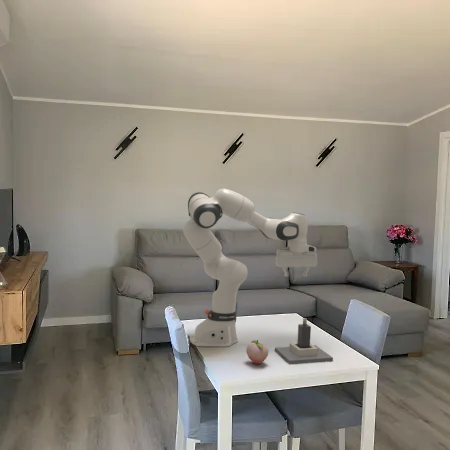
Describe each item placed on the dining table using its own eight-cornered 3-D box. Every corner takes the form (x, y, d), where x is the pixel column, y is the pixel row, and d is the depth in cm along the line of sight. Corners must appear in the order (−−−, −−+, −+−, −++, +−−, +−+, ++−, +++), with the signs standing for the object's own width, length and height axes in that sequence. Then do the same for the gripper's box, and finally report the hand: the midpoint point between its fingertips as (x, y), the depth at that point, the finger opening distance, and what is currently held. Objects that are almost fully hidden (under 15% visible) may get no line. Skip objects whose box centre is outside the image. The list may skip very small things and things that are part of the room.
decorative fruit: (272, 365, 190) (273, 341, 189) (256, 369, 185) (257, 344, 184) (258, 358, 198) (259, 335, 197) (242, 361, 193) (243, 337, 192)
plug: (300, 354, 200) (302, 320, 199) (296, 351, 204) (298, 317, 203) (309, 353, 201) (311, 319, 200) (305, 350, 205) (307, 317, 204)
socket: (289, 364, 192) (289, 353, 192) (274, 350, 207) (275, 341, 207) (332, 361, 198) (333, 350, 197) (315, 348, 213) (315, 338, 213)
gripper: (279, 248, 214) (277, 277, 215) (319, 248, 219) (317, 277, 220) (274, 246, 220) (272, 275, 221) (313, 246, 225) (311, 274, 226)
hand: (295, 276), depth 221 cm, fingers open, 8 cm apart
